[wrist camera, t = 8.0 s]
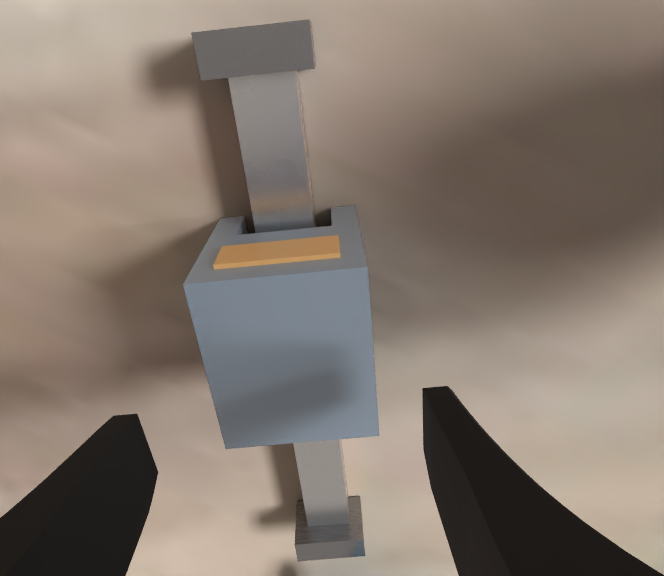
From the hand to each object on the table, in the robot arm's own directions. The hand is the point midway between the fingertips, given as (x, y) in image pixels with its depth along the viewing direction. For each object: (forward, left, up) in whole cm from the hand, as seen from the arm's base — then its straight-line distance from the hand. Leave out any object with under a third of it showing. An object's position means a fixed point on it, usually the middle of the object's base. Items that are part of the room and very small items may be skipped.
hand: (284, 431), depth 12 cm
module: (0, 0, -8) cm, 8 cm away
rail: (0, +2, -8) cm, 8 cm away
